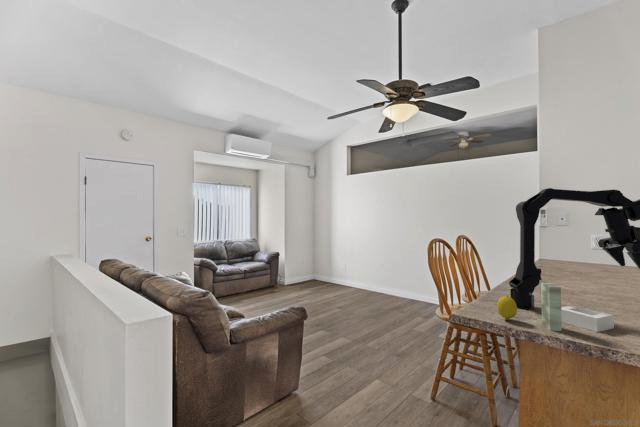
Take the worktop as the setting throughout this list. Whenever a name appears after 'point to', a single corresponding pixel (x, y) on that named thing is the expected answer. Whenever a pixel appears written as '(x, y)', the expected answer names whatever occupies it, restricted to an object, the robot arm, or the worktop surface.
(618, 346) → the worktop surface
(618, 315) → the worktop surface
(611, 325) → the white rectangular frame
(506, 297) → the lemon
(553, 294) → the slat
